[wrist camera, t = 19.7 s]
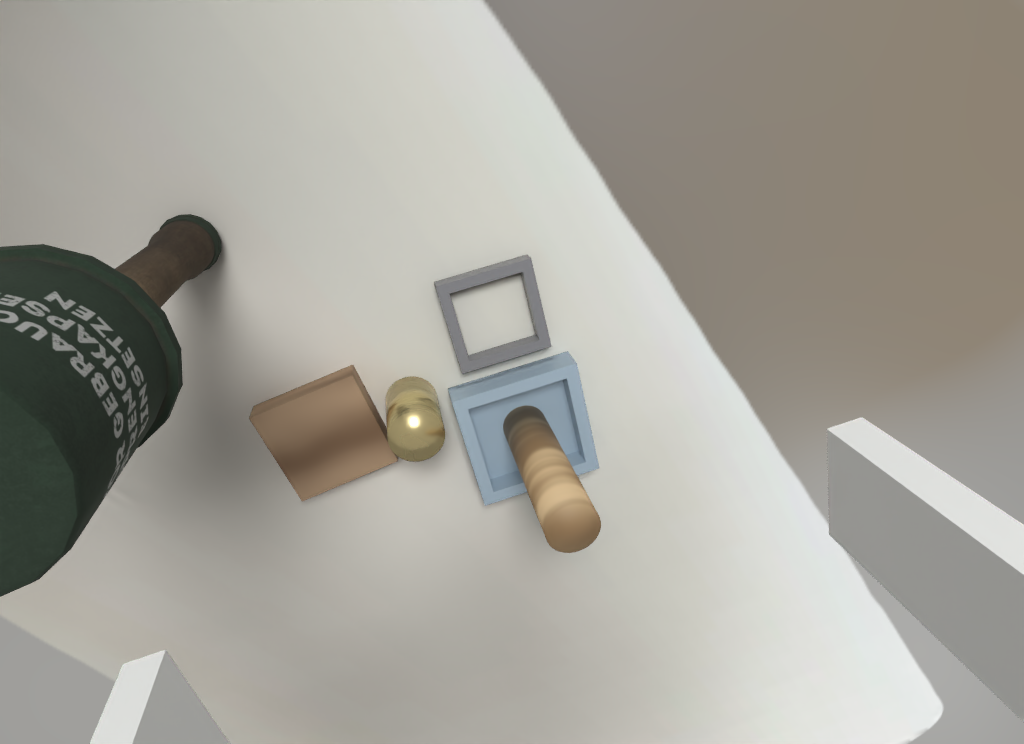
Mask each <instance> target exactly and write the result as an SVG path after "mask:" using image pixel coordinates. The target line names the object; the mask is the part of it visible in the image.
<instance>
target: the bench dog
mask: <svg viewBox="0 0 1024 744" xmlns="http://www.w3.org/2000/svg"><path fill="white" fill-rule="evenodd" d="M386 418H387V435H388V443H389V446H390V448H391V450H392V451H393V453H394V454H395V455H397V456H398V457H400V458H402V459H404V460H407V461H423V460H426V459H429V458H431V457H432V456H434V455H435V454H436V453H437V452H438V451H439V450H440V449H441V447H442V446H443V443H444V440H445V430H444V425H443V421H442V417H441V412H440V408H439V403H438V399H437V395H436V391H435V389H434V387H433V386H432V385H431V384H430V383H429V382H428V381H426V380H424V379H422V378H419V377H405V378H402V379H400V380H398V381H396V382H395V383H394V384H392V386H391V387H390V388H389V390H388V392H387V394H386Z"/></svg>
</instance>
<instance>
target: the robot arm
mask: <svg viewBox="0 0 1024 744" xmlns="http://www.w3.org/2000/svg"><path fill="white" fill-rule="evenodd" d="M827 458H828V459H827V461H828V506H829V535H830V536H831V537H832V538H833V539H834V540H835V541H836V542H837V543H838V544H839V545H840V546H841V547H843V548H844V549H845V550H846V551H847V552H848V553H849V554H850V555H851V556H852V557H853V558H854V559H855V560H856V561H857V562H858V563H859V564H860V565H861V566H862V567H863V568H864V569H865V570H866V571H867V572H869V573H870V575H872V576H873V577H874V578H875V579H876V580H877V581H878V582H879V583H880V584H881V585H882V586H883V587H884V588H885V589H886V590H887V591H888V592H889V593H890V594H891V595H892V596H893V597H894V598H895V599H896V600H898V602H900V603H901V604H902V605H903V606H904V607H905V608H906V609H907V610H908V611H909V612H910V613H911V614H912V615H913V616H914V617H915V618H916V619H917V620H918V621H919V622H920V623H921V624H922V625H923V626H925V628H926V629H927V630H928V631H930V632H931V633H932V634H933V635H934V636H935V637H936V638H937V639H938V640H939V641H940V642H941V643H942V644H943V645H944V646H945V647H946V648H947V649H948V650H949V651H950V652H951V653H952V654H953V655H954V656H955V657H956V658H957V659H958V660H959V661H961V662H962V663H963V664H964V665H965V666H966V667H967V668H968V669H969V670H970V671H971V672H972V673H973V674H974V675H975V676H976V677H977V678H978V679H979V680H980V681H981V682H982V683H983V684H984V685H985V686H986V687H988V688H989V689H990V690H991V691H992V692H993V693H994V694H995V695H996V696H997V697H998V698H999V699H1000V700H1001V701H1002V702H1003V703H1004V704H1005V705H1006V706H1007V707H1008V708H1009V709H1010V710H1011V711H1012V712H1013V713H1014V714H1016V715H1017V716H1018V718H1020V719H1021V720H1022V721H1023V722H1024V525H1023V524H1022V523H1020V522H1019V521H1017V520H1016V519H1014V518H1013V517H1011V516H1010V515H1008V514H1007V513H1005V512H1004V511H1002V510H1001V509H999V508H998V507H996V506H994V505H993V504H991V503H990V502H989V501H987V500H985V499H984V498H983V497H981V496H980V495H978V494H976V493H975V492H974V491H972V490H970V489H969V488H967V487H966V486H964V485H963V484H962V483H960V482H958V481H957V480H955V479H954V478H952V477H951V476H949V475H948V474H946V473H945V472H943V471H942V470H940V469H939V468H937V467H936V466H934V465H933V464H931V463H930V462H928V461H927V460H925V459H924V458H922V457H921V456H919V455H918V454H916V453H915V452H913V451H912V450H910V449H909V448H907V447H906V446H904V445H903V444H901V443H900V442H898V441H897V440H895V439H894V438H892V437H891V436H889V435H888V434H886V433H885V432H883V431H882V430H880V429H879V428H877V427H876V426H874V425H873V424H871V423H870V422H868V421H867V420H865V419H864V418H862V417H861V418H858V419H855V420H852V421H849V422H846V423H843V424H840V425H837V426H834V427H831V428H828V429H827ZM90 744H230V743H229V741H228V740H227V738H226V737H225V735H224V734H223V732H222V731H221V729H220V728H219V727H218V725H217V724H216V722H215V721H214V719H213V718H212V716H211V715H210V713H209V712H208V710H207V709H206V708H205V706H204V705H203V703H202V702H201V700H200V699H199V697H198V696H197V694H196V693H195V692H194V690H193V689H192V687H191V686H190V684H189V683H188V681H187V680H186V678H185V677H184V676H183V674H182V673H181V671H180V670H179V668H178V667H177V665H176V664H175V662H174V661H173V659H172V658H171V657H170V655H169V654H168V652H167V651H166V650H163V651H160V652H157V653H154V654H151V655H148V656H145V657H142V658H139V659H136V660H133V661H130V662H127V663H124V664H123V665H122V668H121V670H120V673H119V675H118V677H117V680H116V682H115V685H114V687H113V690H112V692H111V694H110V696H109V699H108V701H107V704H106V706H105V708H104V711H103V713H102V715H101V718H100V720H99V723H98V725H97V727H96V730H95V732H94V734H93V737H92V739H91V742H90Z"/></svg>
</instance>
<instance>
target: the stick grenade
mask: <svg viewBox="0 0 1024 744" xmlns="http://www.w3.org/2000/svg"><path fill="white" fill-rule="evenodd" d="M220 252H221V240H220V237H219V235H218V232H217V231H216V230H215V228H214V227H213V226H212V225H211V224H210V223H209V222H207V221H206V220H204V219H203V218H201V217H198V216H194V215H191V214H190V215H178V216H176V217H173V218H171V219H169V220H167V221H166V222H165V223H164V224H163V225H162V226H161V227H160V230H159V231H158V232H156V233H155V234H154V235H153V236H152V238H151V239H150V241H149V244H148V246H147V247H145V248H144V249H143V250H141V251H140V252H138V253H137V254H136V255H134V256H133V257H131V258H130V259H128V260H127V261H126V262H124V263H123V264H121V265H120V266H119V267H117V268H116V269H113V268H112V267H110V266H108V265H107V264H105V263H103V262H101V261H100V260H98V259H96V258H94V257H93V256H89V255H85V254H81V253H77V252H72V251H68V250H64V249H60V248H56V247H52V246H48V245H44V244H41V245H25V246H8V247H0V597H1V596H3V595H5V594H8V593H10V592H12V591H14V590H17V589H19V588H21V587H24V586H26V585H28V584H30V583H32V582H34V581H36V580H38V579H40V578H41V577H42V576H43V575H44V574H45V573H46V572H47V571H48V570H49V569H50V568H51V567H52V566H53V565H54V564H56V563H57V562H58V561H59V560H60V559H61V558H62V557H63V556H64V555H65V554H66V553H67V552H68V551H69V550H70V549H71V548H72V547H73V545H74V544H75V542H76V540H77V539H78V537H79V536H80V534H81V533H82V531H83V530H84V528H85V527H86V525H87V524H88V522H89V521H90V519H91V517H92V516H93V514H94V513H95V511H96V510H97V508H98V507H99V505H100V504H101V502H102V501H103V499H104V498H105V496H106V495H107V493H108V491H109V490H110V488H111V487H112V485H113V484H114V482H115V481H116V479H117V478H118V476H119V475H120V473H121V472H122V470H123V468H124V467H125V465H126V464H127V462H128V461H129V459H130V458H131V456H132V455H133V453H134V452H135V450H136V449H137V448H138V447H140V446H141V445H142V444H143V443H144V442H145V441H146V440H147V439H148V438H149V437H150V436H151V435H152V434H153V433H154V432H155V431H157V430H158V429H159V428H160V427H161V426H162V425H163V424H164V423H165V422H166V420H167V419H168V418H169V416H170V414H171V411H172V409H173V406H174V404H175V401H176V399H177V396H178V394H179V391H180V389H181V387H182V385H183V383H182V360H181V347H180V345H179V343H178V341H177V339H176V336H175V334H174V332H173V330H172V327H171V325H170V323H169V321H168V319H167V316H166V314H165V312H164V311H163V310H162V309H161V307H162V305H163V304H164V303H165V302H166V301H167V300H168V299H169V298H170V297H171V296H172V295H173V294H174V293H175V292H176V291H177V290H178V289H179V288H180V286H181V285H182V284H183V283H184V282H185V281H186V280H190V279H193V278H195V277H197V276H198V275H199V274H201V273H202V272H203V271H204V270H207V269H209V268H210V267H211V266H212V265H213V264H214V263H215V262H216V261H217V259H218V257H219V254H220Z"/></svg>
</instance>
